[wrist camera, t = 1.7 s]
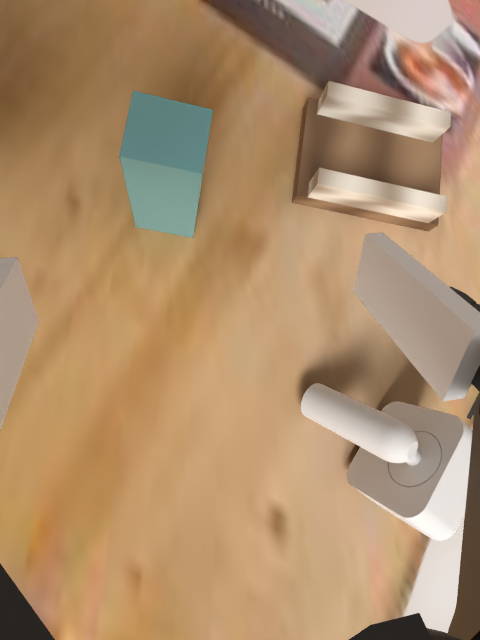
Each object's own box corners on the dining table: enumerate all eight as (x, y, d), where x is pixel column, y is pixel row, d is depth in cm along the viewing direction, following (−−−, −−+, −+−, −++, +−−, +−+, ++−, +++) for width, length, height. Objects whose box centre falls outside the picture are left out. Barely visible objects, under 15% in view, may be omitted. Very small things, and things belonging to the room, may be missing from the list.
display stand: (292, 202, 37) (306, 181, 33) (303, 108, 39) (317, 78, 35) (428, 231, 39) (456, 214, 35) (433, 140, 41) (460, 114, 37)
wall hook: (322, 351, 35) (408, 361, 26) (397, 414, 38) (499, 445, 28) (272, 430, 33) (344, 471, 24) (354, 490, 36) (448, 549, 27)
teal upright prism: (135, 226, 34) (119, 156, 24) (144, 179, 35) (133, 90, 25) (193, 237, 35) (202, 174, 24) (200, 191, 36) (213, 109, 25)
